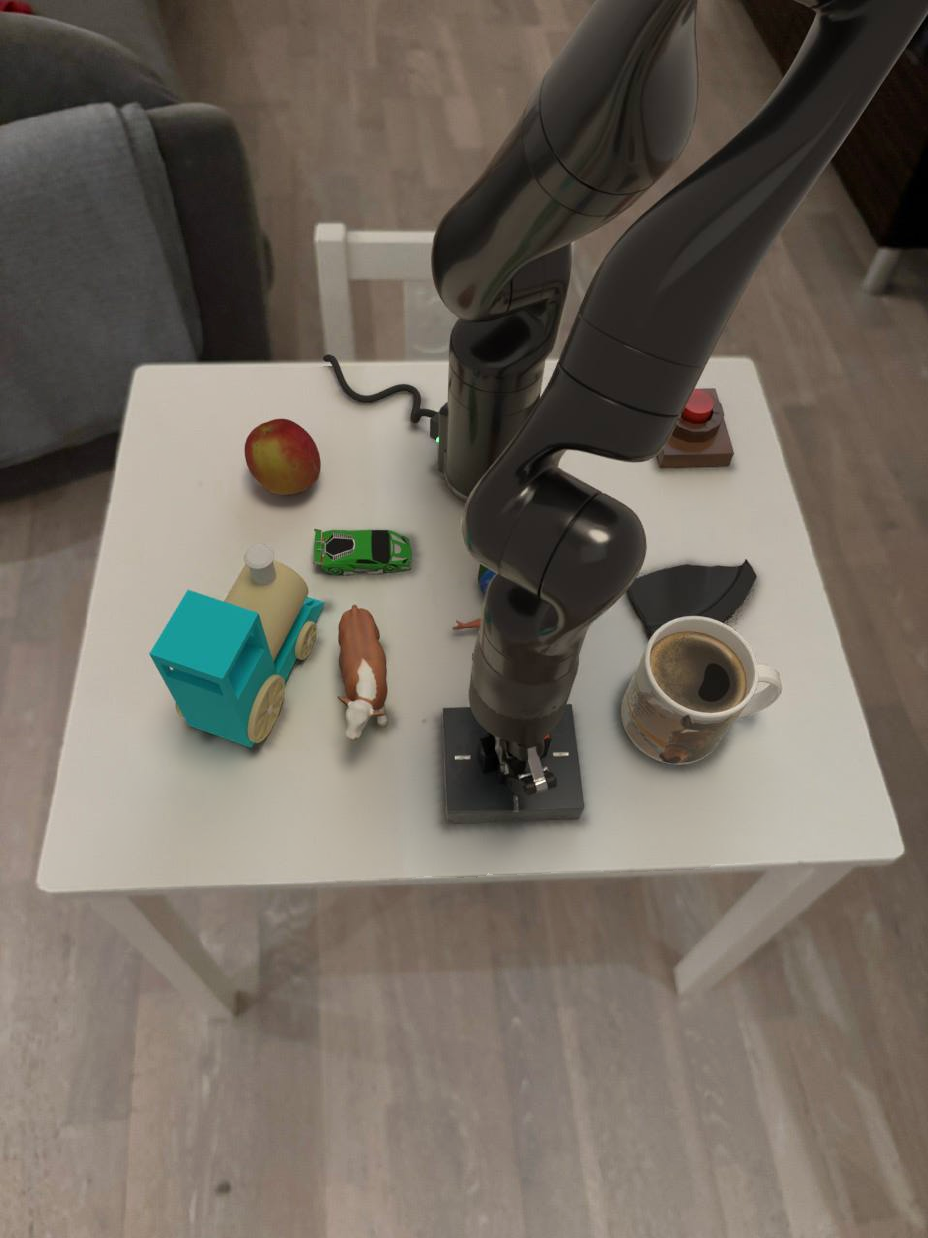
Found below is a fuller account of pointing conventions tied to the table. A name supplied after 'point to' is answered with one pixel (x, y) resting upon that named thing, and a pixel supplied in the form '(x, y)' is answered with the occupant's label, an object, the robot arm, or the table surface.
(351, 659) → the bull figurine
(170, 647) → the toy train
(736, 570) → the fan shaped piece
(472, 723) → the dial panel
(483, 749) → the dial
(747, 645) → the mug
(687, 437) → the button block
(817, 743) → the table surface
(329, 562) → the toy car
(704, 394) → the button
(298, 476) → the apple
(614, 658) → the table surface
